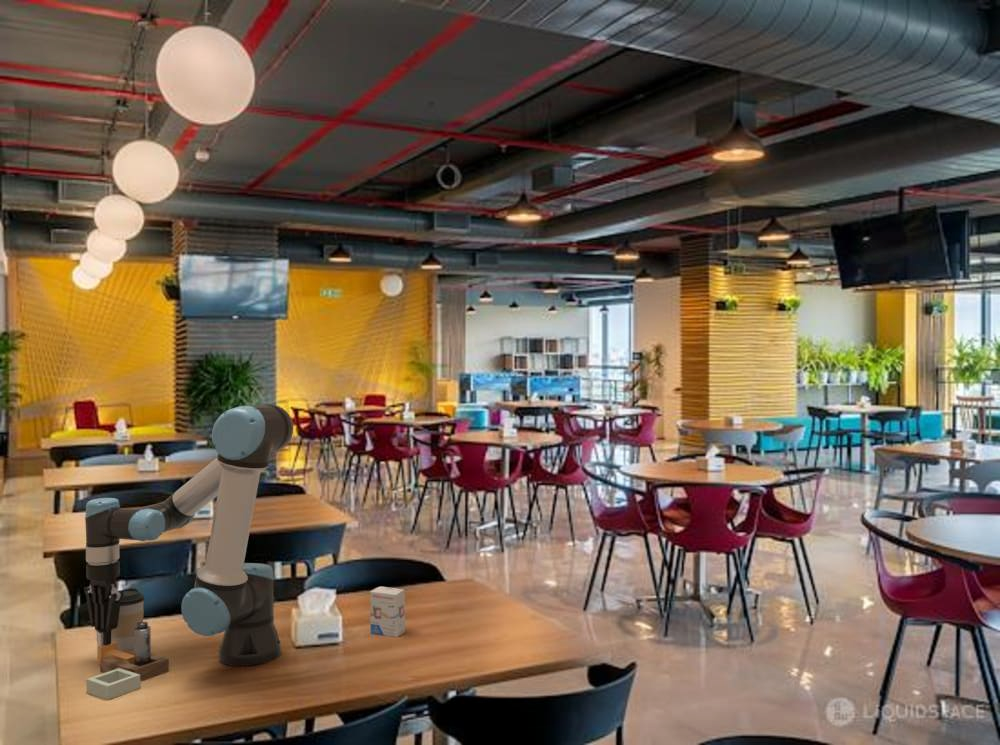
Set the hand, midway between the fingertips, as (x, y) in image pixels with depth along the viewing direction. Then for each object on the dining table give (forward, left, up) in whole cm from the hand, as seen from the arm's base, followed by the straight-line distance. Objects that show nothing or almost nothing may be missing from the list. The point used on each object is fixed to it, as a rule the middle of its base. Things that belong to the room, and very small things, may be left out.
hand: (104, 656), depth 208 cm
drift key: (-6, 0, -1) cm, 6 cm away
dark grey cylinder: (-15, 0, -1) cm, 15 cm away
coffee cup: (+4, -9, -2) cm, 10 cm away
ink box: (-46, -54, -2) cm, 71 cm away
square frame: (-18, +10, -1) cm, 21 cm away
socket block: (-12, 0, -1) cm, 12 cm away
